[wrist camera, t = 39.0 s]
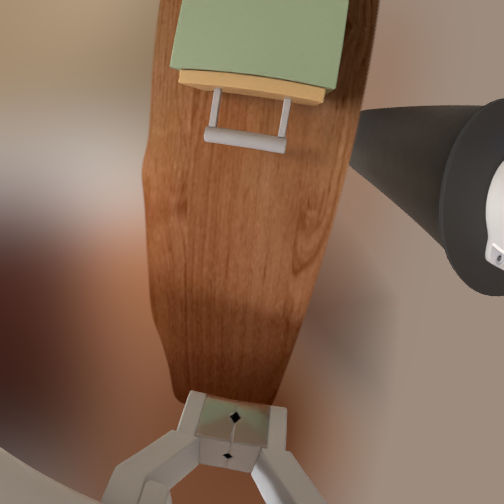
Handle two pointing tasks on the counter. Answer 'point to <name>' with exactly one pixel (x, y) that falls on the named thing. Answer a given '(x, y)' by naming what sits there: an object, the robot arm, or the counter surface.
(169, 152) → the counter surface
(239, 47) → the cabinet
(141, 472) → the robot arm
